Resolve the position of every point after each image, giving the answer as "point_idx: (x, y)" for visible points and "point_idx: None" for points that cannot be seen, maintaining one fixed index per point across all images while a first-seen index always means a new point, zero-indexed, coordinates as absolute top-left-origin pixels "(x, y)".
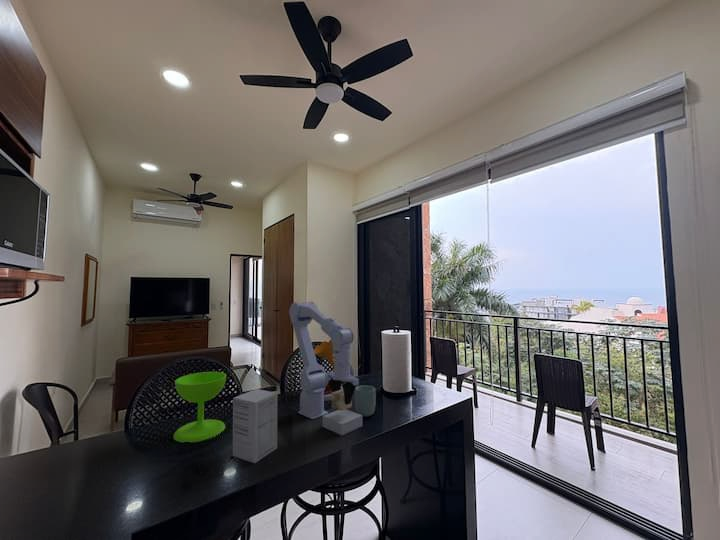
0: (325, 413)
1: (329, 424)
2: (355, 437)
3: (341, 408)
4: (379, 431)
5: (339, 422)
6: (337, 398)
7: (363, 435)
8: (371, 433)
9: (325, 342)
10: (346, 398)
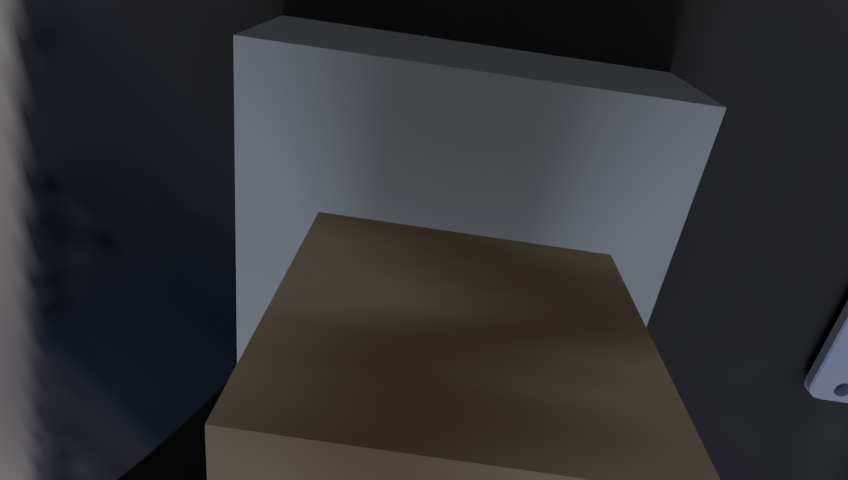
0: (830, 353)
1: (534, 64)
2: (123, 73)
3: (307, 234)
4: (60, 321)
5: (313, 67)
6: (419, 366)
7: (99, 165)
8: (78, 248)
9: None
10: (162, 446)
